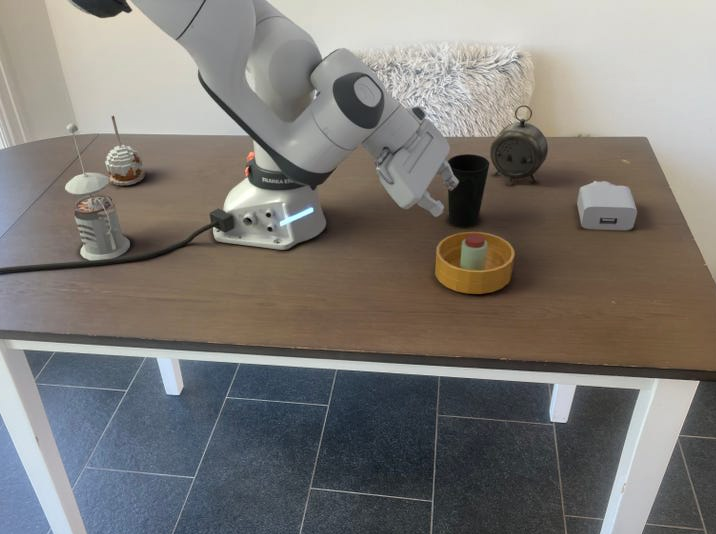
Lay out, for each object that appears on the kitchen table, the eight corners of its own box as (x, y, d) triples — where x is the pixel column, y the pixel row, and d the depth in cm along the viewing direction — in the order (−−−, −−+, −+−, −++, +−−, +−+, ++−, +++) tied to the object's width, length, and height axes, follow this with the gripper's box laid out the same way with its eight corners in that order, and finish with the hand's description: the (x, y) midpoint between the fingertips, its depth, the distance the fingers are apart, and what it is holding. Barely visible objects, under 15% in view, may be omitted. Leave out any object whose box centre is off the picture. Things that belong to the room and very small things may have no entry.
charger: (621, 193, 144) (632, 230, 133) (573, 192, 146) (580, 228, 135) (626, 171, 141) (638, 208, 130) (577, 170, 143) (585, 206, 132)
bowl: (435, 295, 121) (436, 271, 118) (434, 255, 131) (436, 231, 128) (513, 297, 119) (517, 272, 116) (507, 256, 129) (511, 232, 126)
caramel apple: (148, 182, 162) (134, 117, 152) (114, 190, 160) (97, 125, 150) (140, 169, 168) (126, 106, 158) (108, 177, 166) (91, 113, 156)
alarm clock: (543, 180, 151) (555, 104, 140) (535, 191, 147) (547, 114, 137) (493, 171, 155) (502, 96, 145) (484, 181, 152) (492, 106, 142)
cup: (487, 214, 141) (493, 156, 134) (477, 232, 136) (483, 174, 128) (449, 208, 144) (453, 152, 136) (438, 226, 139) (442, 168, 131)
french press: (112, 229, 146) (80, 109, 130) (145, 248, 140) (115, 124, 124) (70, 249, 141) (31, 126, 125) (102, 269, 135) (65, 142, 119)
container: (459, 279, 124) (462, 244, 119) (459, 266, 127) (462, 231, 122) (484, 280, 123) (488, 244, 118) (483, 266, 126) (487, 231, 122)
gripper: (385, 152, 107) (446, 219, 110) (423, 102, 121) (476, 163, 124) (358, 176, 111) (416, 240, 114) (397, 125, 125) (449, 183, 128)
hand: (448, 199), depth 119 cm, fingers open, 8 cm apart
